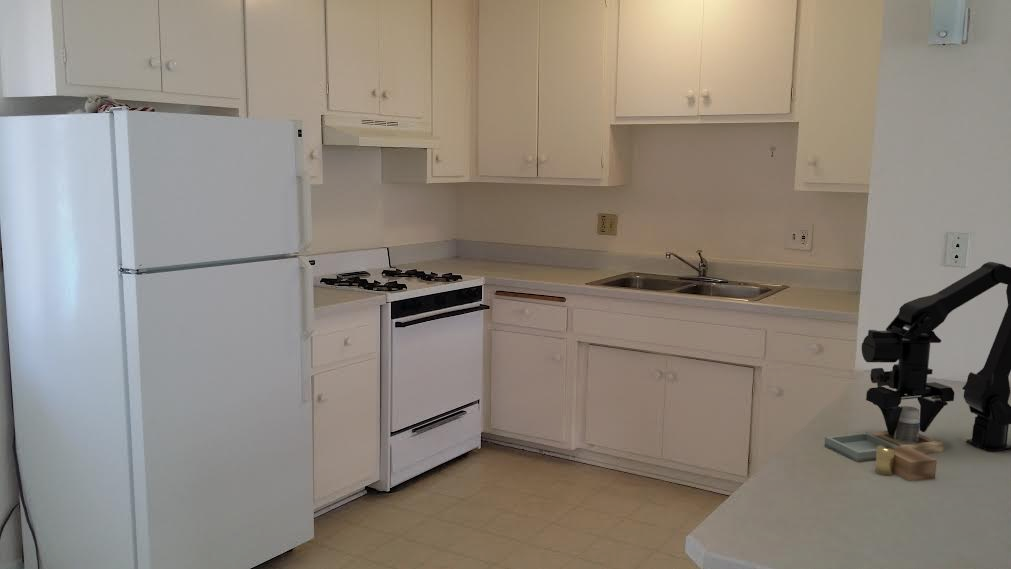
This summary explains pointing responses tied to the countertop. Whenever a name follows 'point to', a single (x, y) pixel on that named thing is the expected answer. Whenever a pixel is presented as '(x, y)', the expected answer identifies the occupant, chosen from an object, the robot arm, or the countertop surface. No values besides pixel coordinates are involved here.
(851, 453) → the tray
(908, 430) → the pill bottle
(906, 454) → the brown cardboard box
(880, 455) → the bench dog
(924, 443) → the socket collar
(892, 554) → the countertop surface
